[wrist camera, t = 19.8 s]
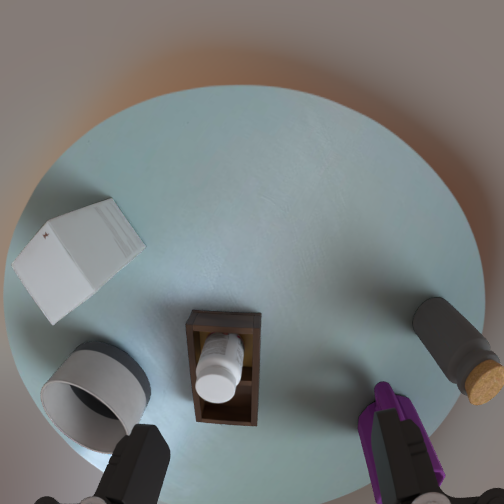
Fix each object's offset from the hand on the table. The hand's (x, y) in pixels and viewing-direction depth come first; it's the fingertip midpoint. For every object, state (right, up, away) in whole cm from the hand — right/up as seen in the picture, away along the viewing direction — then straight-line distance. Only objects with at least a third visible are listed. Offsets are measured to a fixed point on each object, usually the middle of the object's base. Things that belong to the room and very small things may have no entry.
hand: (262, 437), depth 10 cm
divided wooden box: (-3, -8, +29) cm, 31 cm away
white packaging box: (-17, +8, +26) cm, 32 cm away
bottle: (+23, -2, +26) cm, 35 cm away
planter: (-20, -11, +32) cm, 39 cm away
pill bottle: (-4, -4, +28) cm, 28 cm away
